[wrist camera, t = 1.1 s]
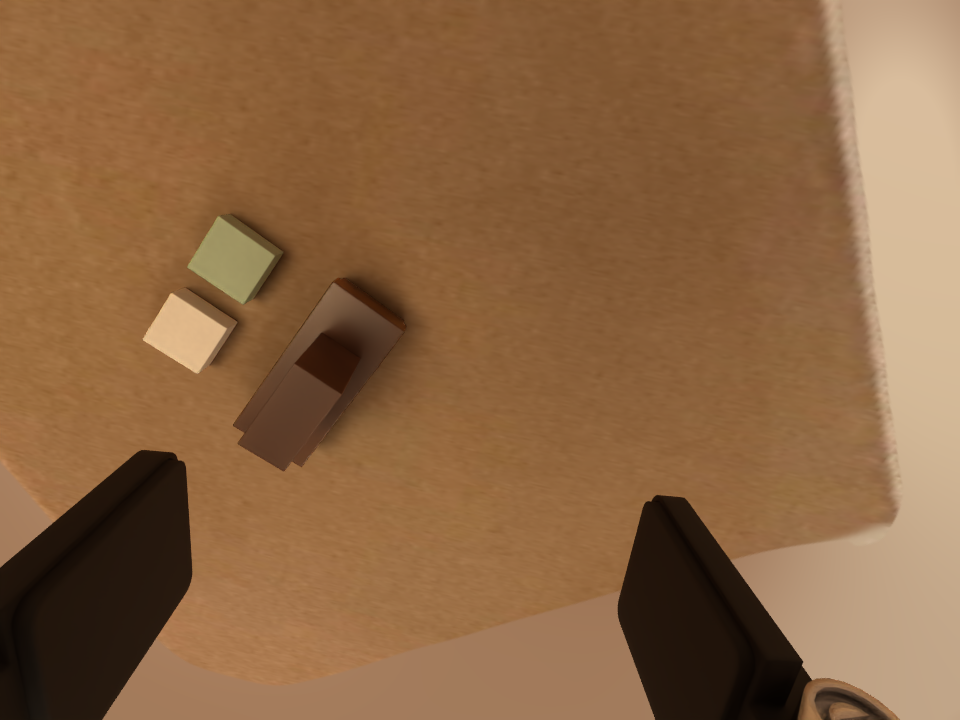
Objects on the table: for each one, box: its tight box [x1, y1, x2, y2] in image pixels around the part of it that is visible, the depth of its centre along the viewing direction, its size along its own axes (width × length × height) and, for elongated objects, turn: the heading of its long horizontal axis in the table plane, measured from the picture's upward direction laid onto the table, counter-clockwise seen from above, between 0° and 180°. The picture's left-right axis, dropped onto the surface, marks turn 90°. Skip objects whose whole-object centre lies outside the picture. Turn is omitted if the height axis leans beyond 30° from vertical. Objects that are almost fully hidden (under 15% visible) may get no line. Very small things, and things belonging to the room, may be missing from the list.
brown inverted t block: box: [233, 278, 406, 471], centre depth 33 cm, size 5×12×9 cm, turn 142°
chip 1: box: [187, 214, 284, 305], centre depth 34 cm, size 4×4×2 cm
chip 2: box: [143, 287, 238, 374], centre depth 35 cm, size 4×4×2 cm
